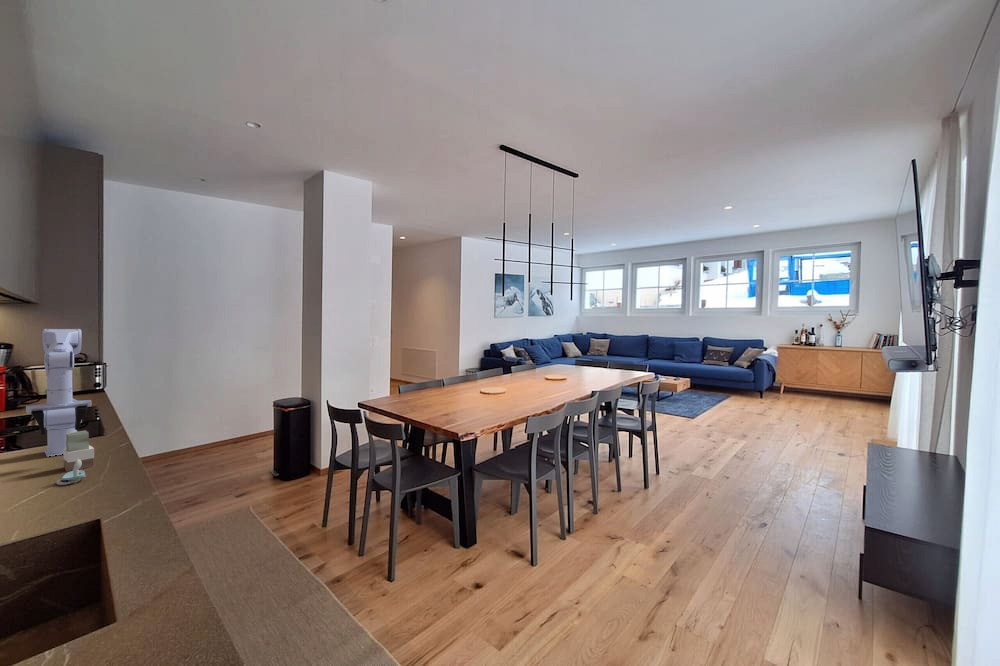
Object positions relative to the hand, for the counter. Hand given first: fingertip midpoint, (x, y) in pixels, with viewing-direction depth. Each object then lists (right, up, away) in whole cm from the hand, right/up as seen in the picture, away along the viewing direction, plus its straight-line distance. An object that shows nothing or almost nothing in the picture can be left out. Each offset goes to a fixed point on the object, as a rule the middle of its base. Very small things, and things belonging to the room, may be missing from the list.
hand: (60, 431), depth 137 cm
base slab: (+8, -11, -2) cm, 14 cm away
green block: (+8, -5, -3) cm, 10 cm away
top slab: (+8, -8, -2) cm, 12 cm away
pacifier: (+18, -11, -14) cm, 25 cm away
